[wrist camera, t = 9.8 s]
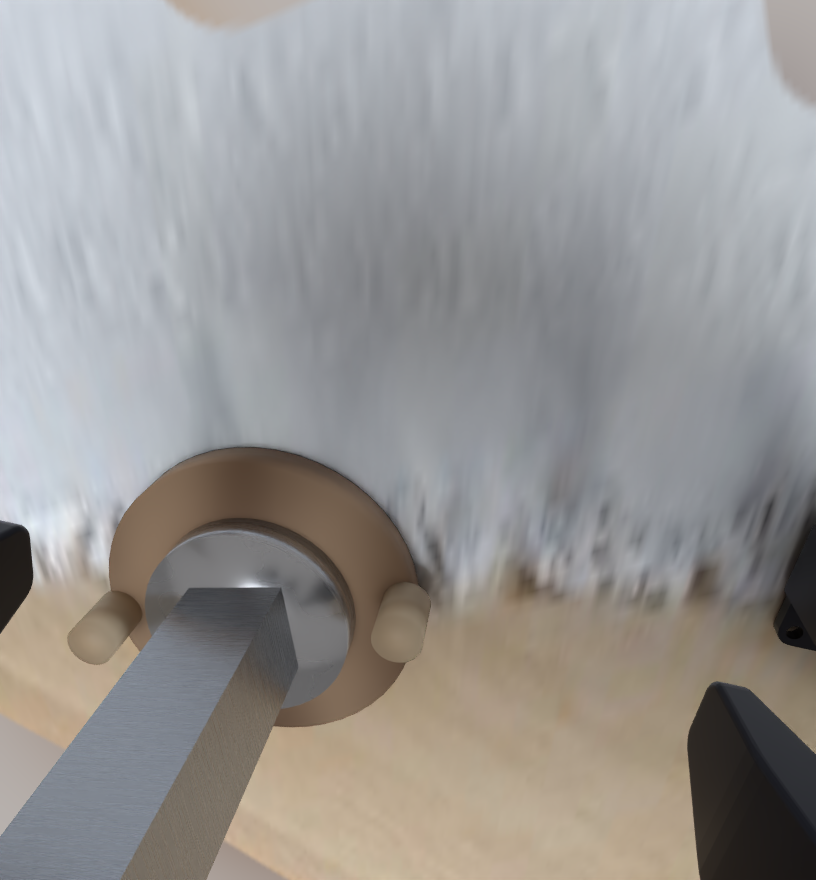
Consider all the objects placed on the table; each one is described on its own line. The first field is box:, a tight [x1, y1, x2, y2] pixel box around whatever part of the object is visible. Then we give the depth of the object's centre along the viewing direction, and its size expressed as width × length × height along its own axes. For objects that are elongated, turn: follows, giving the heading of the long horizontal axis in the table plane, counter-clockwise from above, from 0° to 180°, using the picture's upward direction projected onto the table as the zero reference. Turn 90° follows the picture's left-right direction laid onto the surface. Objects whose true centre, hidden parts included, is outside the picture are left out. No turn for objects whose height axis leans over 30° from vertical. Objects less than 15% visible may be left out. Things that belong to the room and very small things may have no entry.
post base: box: [68, 447, 431, 727], centre depth 24 cm, size 12×11×3 cm
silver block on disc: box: [0, 518, 356, 880], centre depth 19 cm, size 7×7×12 cm
